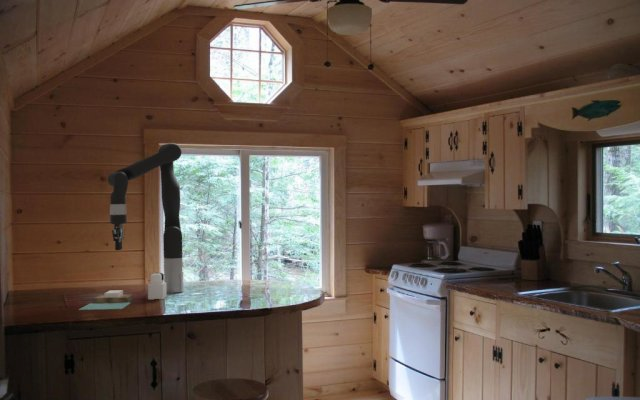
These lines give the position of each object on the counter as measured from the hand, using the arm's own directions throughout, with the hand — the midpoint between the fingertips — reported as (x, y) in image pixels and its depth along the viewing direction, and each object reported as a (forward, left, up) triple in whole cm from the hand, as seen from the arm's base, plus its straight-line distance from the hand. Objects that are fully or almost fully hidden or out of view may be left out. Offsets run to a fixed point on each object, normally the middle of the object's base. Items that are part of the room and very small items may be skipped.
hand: (118, 249), depth 299 cm
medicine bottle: (-19, +3, -23) cm, 30 cm away
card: (0, +9, -21) cm, 23 cm away
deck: (0, +10, -23) cm, 25 cm away
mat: (0, +23, -23) cm, 33 cm away
